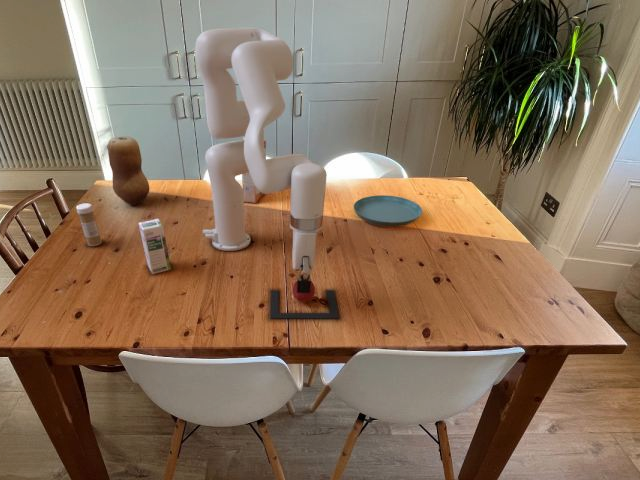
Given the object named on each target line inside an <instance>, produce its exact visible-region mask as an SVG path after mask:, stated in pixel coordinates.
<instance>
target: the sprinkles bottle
mask: <svg viewBox="0 0 640 480" xmlns="http://www.w3.org/2000/svg"><path fill="white" fill-rule="evenodd" d="M75 209H76V212H77V214H78V216H79V220H80V224H81V227H82V231H83V234H84V237H85V240H86V243H87V246H88V247H91V248H93V247H97V246H100V245H102V243H103V240H102V238H101V235H100V231H99V227H98V224H97V221H96V218H95V215H94V208H93V205H92V204H91V203H87V202H86V203H85V202H84V203H80V204H78V205H76V207H75Z"/></svg>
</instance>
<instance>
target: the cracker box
mask: <svg viewBox="0 0 640 480" xmlns="http://www.w3.org/2000/svg"><path fill="white" fill-rule="evenodd" d="M264 156H265V158H266V159H267V141H266V140H265V139H264ZM241 177H242V178H241V183H242V184H241V187H242V189H243V197H244V203H250V204H257V202H258V201H259V200H261V198H262V197H263V195H265V194H264V193H261V192H260V191H259V190H258V189H257V188H256V186H255V185H254V183H253V180H252V178H251V175H250V173H245V174H241Z"/></svg>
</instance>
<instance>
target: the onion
mask: <svg viewBox="0 0 640 480" xmlns="http://www.w3.org/2000/svg"><path fill="white" fill-rule="evenodd" d="M291 292H292V295H293V297H294V298H295V299H296V301H298V302H300V303H306V302H309V301H310V300H311V299H313V298H314V297H315V295H316V294H315V293H316V286H315V284H314V282H313V281H312V280H311V287H310V293H297V280H296V281H295V282H294V283H293V286H292V291H291Z"/></svg>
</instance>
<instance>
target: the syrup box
mask: <svg viewBox="0 0 640 480" xmlns="http://www.w3.org/2000/svg"><path fill="white" fill-rule="evenodd" d="M138 228H139V232H140V237H141V240H142V241H141V242H142V246H143V250H144V255H145V259H146V265H147V267H148V269H149V270H150V273H151V274H152V275H155V274H159V273H162V272H163V273H164V272H166V271H171V270H172V265H171V260H170V256H169V250H168V245H167V240H166V234H165V229H164V225H163V223H162V222H161V220H160V219H159V218H155V219H151V220H146V221H140V222H138Z"/></svg>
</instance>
